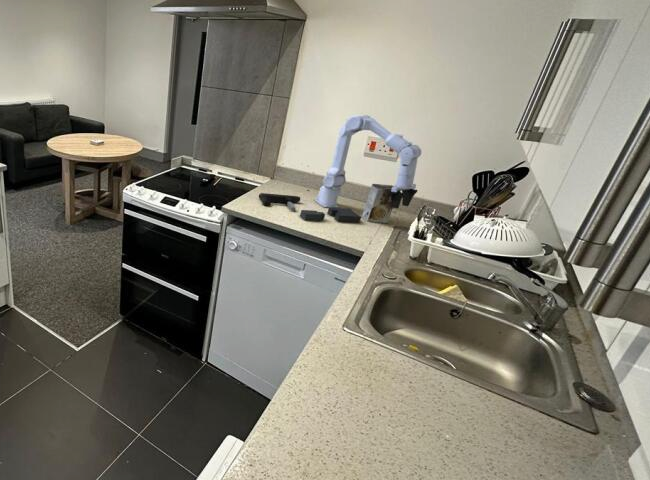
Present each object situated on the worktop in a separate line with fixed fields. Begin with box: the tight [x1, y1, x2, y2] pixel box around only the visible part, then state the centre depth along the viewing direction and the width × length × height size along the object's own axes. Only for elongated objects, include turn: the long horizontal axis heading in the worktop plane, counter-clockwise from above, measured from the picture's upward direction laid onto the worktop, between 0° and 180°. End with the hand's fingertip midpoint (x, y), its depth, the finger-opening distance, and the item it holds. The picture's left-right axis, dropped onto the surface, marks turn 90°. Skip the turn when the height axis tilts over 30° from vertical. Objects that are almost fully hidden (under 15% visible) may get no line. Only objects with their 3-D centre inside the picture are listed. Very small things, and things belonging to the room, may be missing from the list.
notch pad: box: [326, 207, 362, 224], centre depth 177 cm, size 10×10×3 cm
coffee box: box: [361, 183, 395, 224], centre depth 176 cm, size 9×6×16 cm
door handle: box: [258, 192, 301, 212], centre depth 188 cm, size 3×20×16 cm
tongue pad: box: [299, 209, 326, 222], centre depth 173 cm, size 5×9×3 cm, turn 92°
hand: (400, 206), depth 166 cm, fingers open, 7 cm apart
